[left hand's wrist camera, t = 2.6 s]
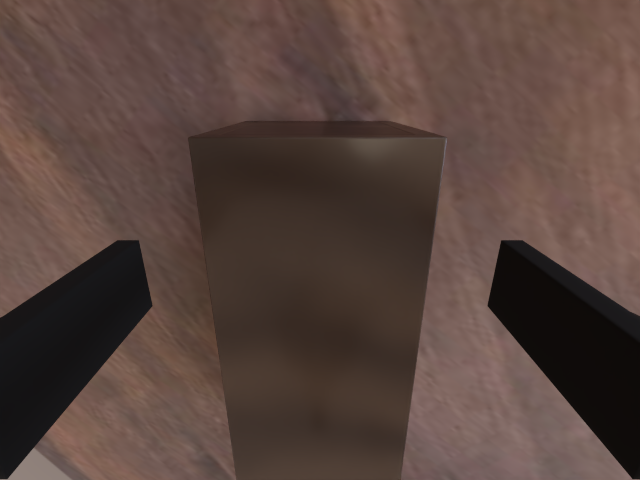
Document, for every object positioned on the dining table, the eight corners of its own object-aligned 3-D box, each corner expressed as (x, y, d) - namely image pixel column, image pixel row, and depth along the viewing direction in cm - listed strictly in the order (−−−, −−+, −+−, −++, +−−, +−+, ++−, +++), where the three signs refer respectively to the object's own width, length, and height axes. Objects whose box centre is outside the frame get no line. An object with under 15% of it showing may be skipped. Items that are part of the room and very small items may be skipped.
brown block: (373, 357, 31) (400, 482, 21) (263, 357, 31) (236, 482, 21) (391, 121, 24) (447, 137, 13) (244, 121, 24) (187, 137, 13)
